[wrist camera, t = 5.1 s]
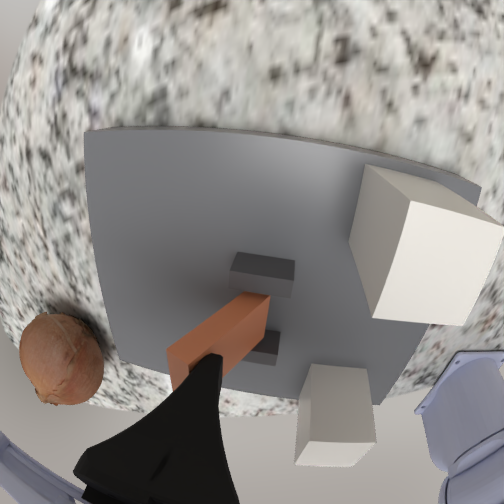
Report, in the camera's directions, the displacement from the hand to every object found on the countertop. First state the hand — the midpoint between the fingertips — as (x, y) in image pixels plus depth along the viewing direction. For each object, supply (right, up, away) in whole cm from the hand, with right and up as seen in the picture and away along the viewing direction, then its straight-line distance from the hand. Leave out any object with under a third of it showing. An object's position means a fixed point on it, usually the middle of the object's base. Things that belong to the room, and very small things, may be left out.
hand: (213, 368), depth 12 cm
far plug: (+7, -5, +7) cm, 11 cm away
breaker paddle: (+2, +2, +4) cm, 5 cm away
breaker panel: (+3, +3, +7) cm, 9 cm away
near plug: (+9, +7, +1) cm, 11 cm away
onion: (-16, -3, +14) cm, 22 cm away
